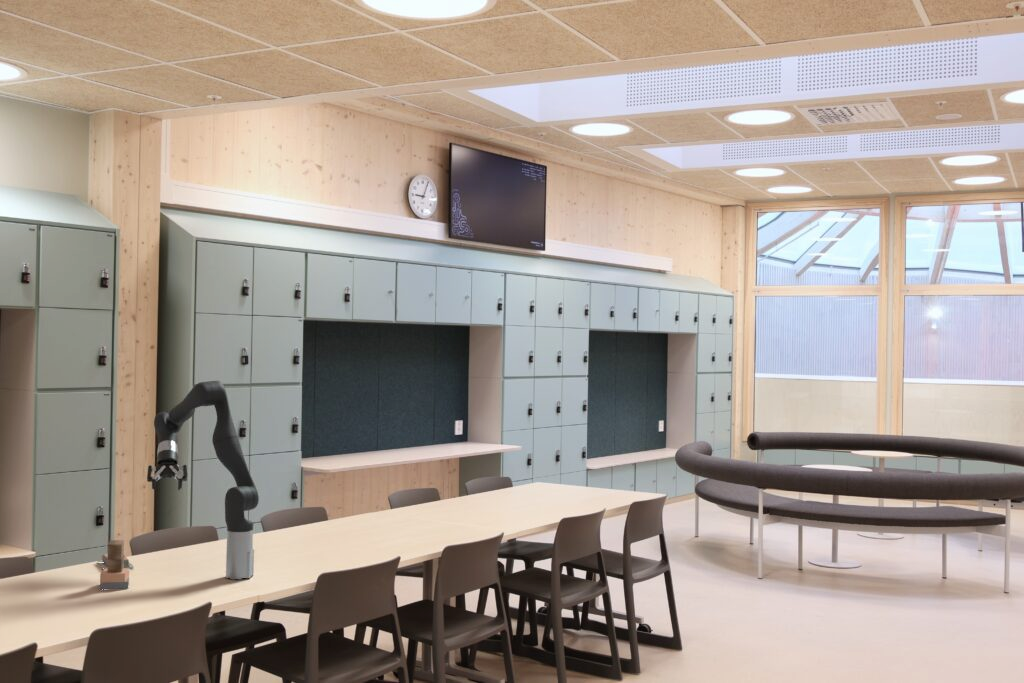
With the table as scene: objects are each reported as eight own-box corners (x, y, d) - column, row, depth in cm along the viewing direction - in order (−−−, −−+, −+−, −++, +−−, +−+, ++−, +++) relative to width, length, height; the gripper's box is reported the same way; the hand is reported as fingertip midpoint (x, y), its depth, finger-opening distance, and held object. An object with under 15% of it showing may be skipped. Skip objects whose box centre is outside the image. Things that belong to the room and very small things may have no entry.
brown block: (123, 567, 340) (123, 540, 339) (121, 572, 336) (121, 544, 335) (110, 568, 339) (110, 540, 338) (107, 572, 335) (107, 544, 334)
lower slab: (128, 584, 344) (129, 575, 344) (128, 590, 335) (128, 581, 335) (101, 586, 340) (101, 577, 340) (99, 592, 332) (100, 583, 332)
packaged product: (134, 557, 364) (106, 560, 359) (134, 570, 364) (106, 573, 359) (124, 549, 379) (97, 551, 374) (124, 561, 379) (97, 564, 374)
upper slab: (129, 576, 342) (129, 568, 342) (124, 582, 334) (124, 573, 335) (105, 577, 341) (105, 568, 341) (100, 582, 333) (100, 573, 333)
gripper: (148, 449, 369) (146, 483, 358) (187, 448, 374) (187, 482, 363) (147, 461, 374) (146, 495, 363) (186, 460, 379) (186, 494, 368)
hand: (167, 489), depth 363 cm, fingers open, 8 cm apart
